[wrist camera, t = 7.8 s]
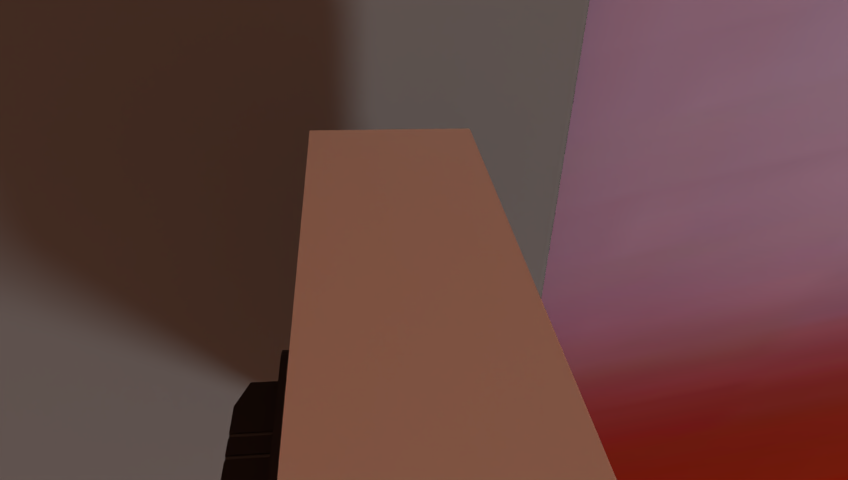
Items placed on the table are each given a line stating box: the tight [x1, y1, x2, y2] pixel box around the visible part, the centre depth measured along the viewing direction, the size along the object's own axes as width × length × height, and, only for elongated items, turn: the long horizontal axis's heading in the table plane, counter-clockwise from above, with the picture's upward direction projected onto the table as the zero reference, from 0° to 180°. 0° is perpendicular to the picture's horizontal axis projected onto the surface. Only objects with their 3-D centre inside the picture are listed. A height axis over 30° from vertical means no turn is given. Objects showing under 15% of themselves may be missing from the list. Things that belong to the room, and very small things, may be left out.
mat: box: [0, 0, 589, 480], centre depth 14 cm, size 16×14×1 cm
